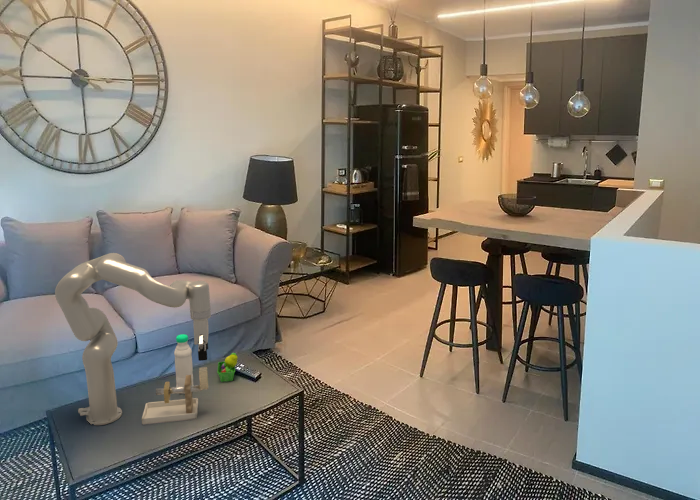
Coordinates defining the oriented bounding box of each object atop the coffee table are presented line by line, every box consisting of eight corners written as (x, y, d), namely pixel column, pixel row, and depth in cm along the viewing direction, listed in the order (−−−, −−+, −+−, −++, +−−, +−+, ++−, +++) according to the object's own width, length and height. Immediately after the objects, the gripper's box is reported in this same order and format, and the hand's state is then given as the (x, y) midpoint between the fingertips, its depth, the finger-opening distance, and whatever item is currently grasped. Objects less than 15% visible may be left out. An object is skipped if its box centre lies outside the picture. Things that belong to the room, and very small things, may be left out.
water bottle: (188, 395, 225) (185, 339, 219) (173, 393, 226) (169, 338, 220) (196, 387, 232) (193, 333, 226) (181, 385, 233) (178, 331, 227)
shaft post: (186, 416, 208) (184, 384, 205) (187, 405, 216) (185, 375, 212) (191, 415, 209) (189, 384, 205) (192, 405, 216) (191, 374, 213)
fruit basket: (218, 372, 246) (217, 349, 243) (238, 370, 248) (237, 347, 245) (217, 383, 235) (216, 360, 233) (238, 382, 237) (237, 358, 234)
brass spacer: (164, 403, 206) (163, 389, 205) (166, 395, 212) (165, 381, 210) (168, 402, 206) (167, 388, 205) (170, 395, 212) (169, 381, 211)
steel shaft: (155, 396, 206) (154, 374, 204) (156, 392, 209) (155, 371, 207) (208, 391, 210) (206, 370, 208) (208, 388, 213) (207, 367, 211)
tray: (142, 424, 203) (141, 418, 202) (146, 408, 214) (146, 402, 214) (196, 419, 207) (196, 413, 207) (198, 403, 219) (198, 397, 218)
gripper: (191, 306, 211) (194, 346, 215) (188, 322, 195) (192, 365, 199) (211, 305, 213) (213, 344, 217) (210, 320, 196) (212, 363, 200)
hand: (203, 354), depth 208 cm, fingers open, 9 cm apart
